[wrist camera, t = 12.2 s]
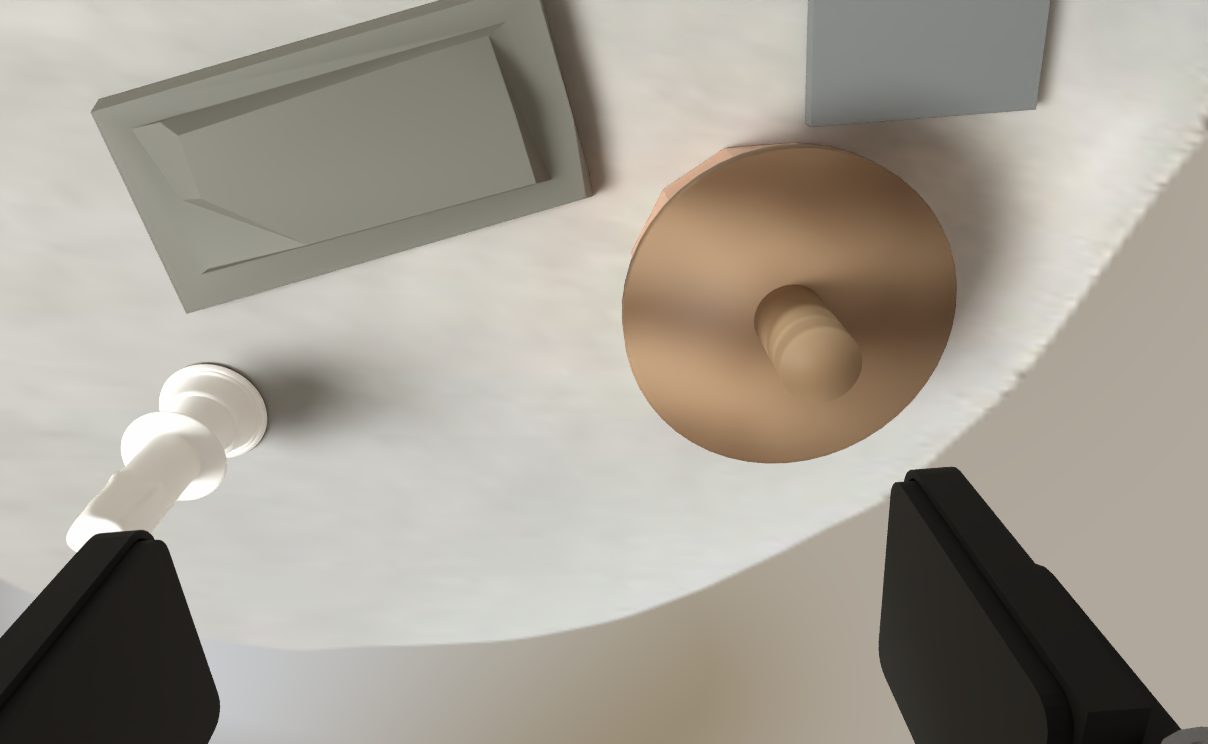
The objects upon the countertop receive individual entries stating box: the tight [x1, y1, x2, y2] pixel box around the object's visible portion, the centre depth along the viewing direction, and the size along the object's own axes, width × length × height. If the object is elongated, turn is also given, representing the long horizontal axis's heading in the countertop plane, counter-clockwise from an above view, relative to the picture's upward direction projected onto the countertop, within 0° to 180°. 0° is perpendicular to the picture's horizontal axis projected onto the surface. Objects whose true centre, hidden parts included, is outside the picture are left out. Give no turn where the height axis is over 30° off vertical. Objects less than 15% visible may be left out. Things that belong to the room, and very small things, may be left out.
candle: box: [66, 364, 267, 552], centre depth 38 cm, size 5×5×12 cm
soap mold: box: [91, 0, 593, 314], centre depth 37 cm, size 10×20×4 cm, turn 105°
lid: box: [622, 144, 957, 463], centre depth 34 cm, size 14×14×6 cm
